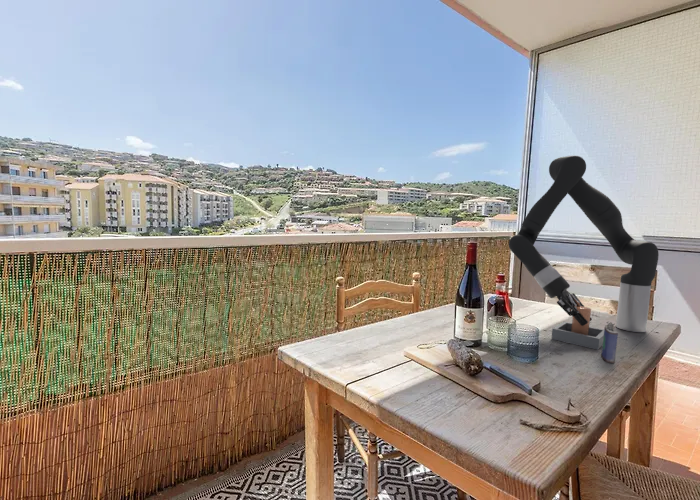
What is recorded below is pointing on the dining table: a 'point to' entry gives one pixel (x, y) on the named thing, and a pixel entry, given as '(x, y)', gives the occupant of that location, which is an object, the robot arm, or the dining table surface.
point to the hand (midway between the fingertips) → (587, 322)
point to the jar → (576, 325)
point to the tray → (578, 336)
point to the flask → (609, 343)
